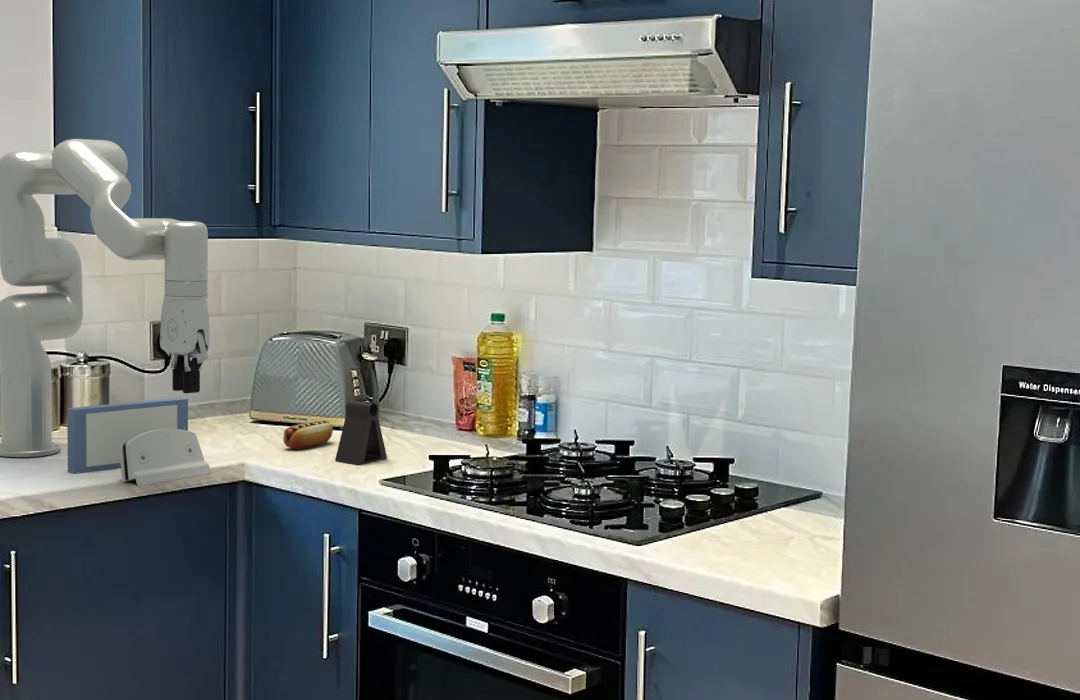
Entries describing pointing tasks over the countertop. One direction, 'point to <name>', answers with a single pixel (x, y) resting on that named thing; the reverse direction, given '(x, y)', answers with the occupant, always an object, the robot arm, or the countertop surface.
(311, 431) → the hot dog
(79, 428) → the cabinet side
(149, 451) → the hinge
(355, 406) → the dark grey a-frame stand
